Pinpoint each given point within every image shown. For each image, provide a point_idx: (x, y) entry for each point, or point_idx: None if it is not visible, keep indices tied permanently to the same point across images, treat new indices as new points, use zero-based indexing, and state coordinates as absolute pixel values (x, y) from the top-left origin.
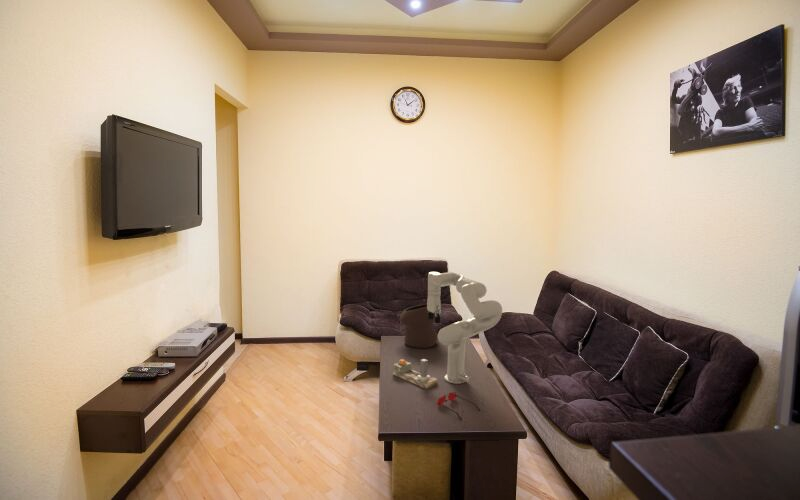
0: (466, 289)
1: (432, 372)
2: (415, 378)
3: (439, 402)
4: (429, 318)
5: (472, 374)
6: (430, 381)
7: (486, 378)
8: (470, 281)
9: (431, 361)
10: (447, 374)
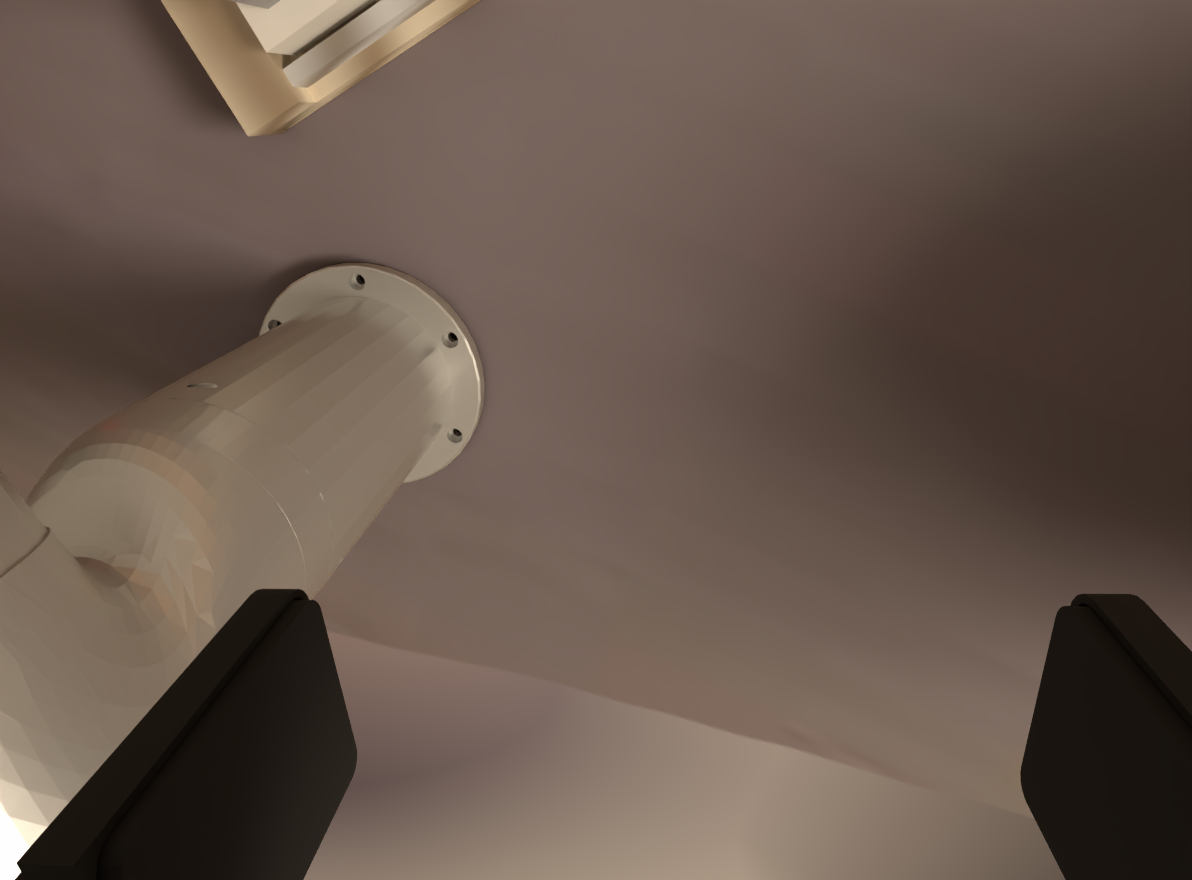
0: None
1: (596, 205)
2: None
3: None
4: (1076, 648)
5: (459, 567)
6: (177, 16)
7: (360, 626)
8: None
9: (925, 325)
10: (354, 307)
